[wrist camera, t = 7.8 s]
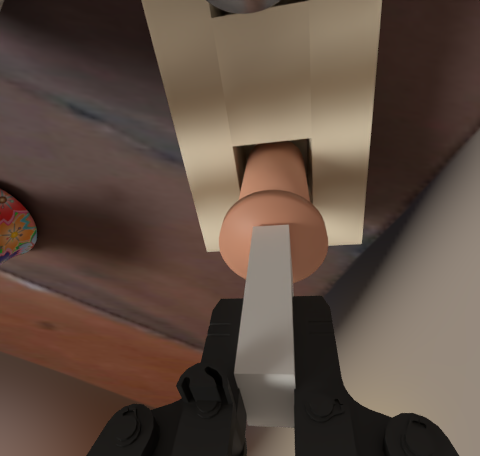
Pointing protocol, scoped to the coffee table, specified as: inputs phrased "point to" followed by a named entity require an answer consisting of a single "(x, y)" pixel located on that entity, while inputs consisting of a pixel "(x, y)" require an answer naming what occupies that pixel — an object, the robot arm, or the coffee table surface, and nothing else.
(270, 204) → the terracotta plug
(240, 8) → the grey plug
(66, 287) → the coffee table surface
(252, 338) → the robot arm
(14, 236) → the mug
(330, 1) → the block
